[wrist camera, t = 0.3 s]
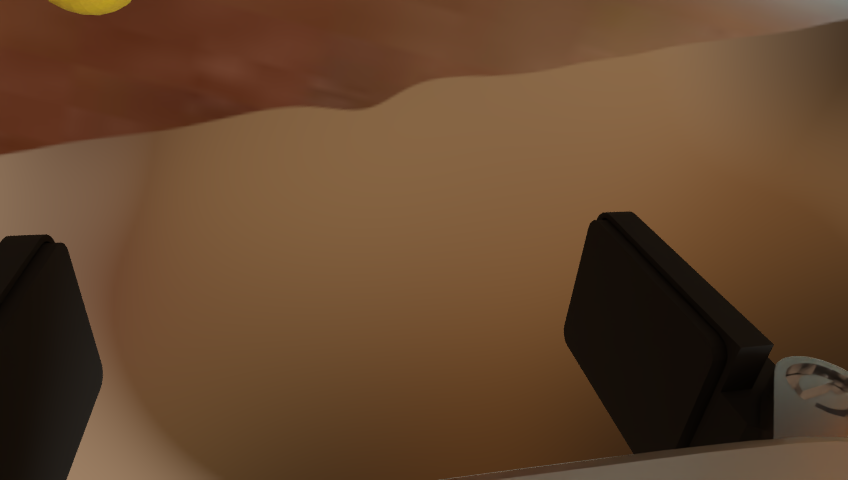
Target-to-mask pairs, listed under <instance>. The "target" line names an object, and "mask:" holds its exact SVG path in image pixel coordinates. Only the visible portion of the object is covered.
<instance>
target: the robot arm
mask: <svg viewBox="0 0 848 480" xmlns="http://www.w3.org/2000/svg"><path fill="white" fill-rule="evenodd" d="M564 337H565V341H566V344H567V346H568V347H569V349H570V351H571V352H572V354H573V356H574V357H575V359H576V360H577V362H578V364H579V365H580V367H581V369H582V370H583V372H584V374H585V375H586V377H587V378H588V380H589V382H590V383H591V385H592V387H593V388H594V390H595V391H596V393H597V395H598V396H599V398H600V400H601V401H602V403H603V405H604V406H605V408H606V410H607V411H608V413H609V414H610V416H611V417H612V419H613V421H614V423H615V424H616V426H617V428H618V429H619V431H620V432H621V434H622V436H623V437H624V439H625V441H626V442H627V444H628V445H629V447H630V449H631V450H632V452H633V454H632V455H624V456H617V457H609V458H601V459H594V460H586V461H578V462H570V463H563V464H555V465H547V466H539V467H532V468H524V469H516V470H509V471H502V472H494V473H486V474H480V475H472V476H465V477H457V478H449V479H442V480H848V372H847V371H846V370H844V369H842V368H840V367H838V366H835V365H833V364H830V363H828V362H826V361H822V360H818V359H815V358H811V357H800V356H793V357H787V358H784V359H782V360H781V361H779V362H778V363H777V364H776V365H775V364H774V363H773V362H772V361H771V360H770V359H769V358H768V355H769V353H770V351H771V349H772V347H773V345H774V344H773V343H772V342H771V341H769V340H768V339H767V338H766V337H765V336H764V335H763V334H762V333H761V332H760V331H759V330H758V329H757V328H756V327H755V326H754V325H753V324H751V323H750V322H749V321H748V320H747V319H746V318H745V317H744V316H743V315H742V314H741V313H740V312H739V311H737V310H736V309H735V308H734V307H733V306H732V305H731V304H730V303H729V302H728V301H727V300H726V299H725V298H723V296H722V295H720V294H719V293H718V292H717V291H716V290H715V289H714V288H713V287H712V286H711V285H710V284H709V283H708V282H707V281H706V280H705V279H703V278H702V277H701V276H700V275H699V274H698V273H697V272H696V271H695V270H694V269H693V268H692V267H691V266H690V265H688V263H687V262H685V261H684V260H683V259H682V258H681V257H680V256H679V255H678V254H677V253H676V252H675V251H674V250H673V249H672V248H671V247H670V246H668V245H667V244H666V243H665V242H664V241H663V240H662V239H661V238H660V237H659V236H658V235H657V234H656V233H655V232H654V231H652V230H651V229H650V228H649V227H648V226H647V225H646V224H645V223H644V222H643V221H642V220H641V219H640V218H639V217H637V215H635V214H634V213H632V212H606V213H602V214H600V215H599V217H598V218H597V220H594V221H592V222H591V223H590V225H589V228H588V232H587V236H586V240H585V244H584V248H583V253H582V256H581V261H580V264H579V268H578V273H577V276H576V281H575V285H574V289H573V293H572V297H571V301H570V305H569V309H568V313H567V317H566V321H565V325H564ZM102 378H103V370H102V364H101V360H100V357H99V354H98V350H97V347H96V344H95V340H94V337H93V333H92V330H91V326H90V323H89V320H88V316H87V313H86V310H85V306H84V303H83V300H82V296H81V293H80V289H79V286H78V283H77V279H76V276H75V272H74V269H73V266H72V262H71V259H70V256H69V252H68V249H67V247H66V246H65V244H63V243H55V242H54V240H53V239H52V237H51V236H49V235H47V234H46V235H21V236H6V237H5V238H4V239H3V240H2V241H1V242H0V480H66V479H67V476H68V474H69V471H70V468H71V466H72V463H73V460H74V458H75V455H76V452H77V449H78V447H79V444H80V442H81V439H82V436H83V434H84V431H85V428H86V426H87V423H88V420H89V418H90V415H91V412H92V409H93V407H94V404H95V401H96V399H97V396H98V393H99V391H100V388H101V385H102Z"/></svg>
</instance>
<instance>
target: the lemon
mask: <svg viewBox="0 0 848 480" xmlns="http://www.w3.org/2000/svg"><path fill="white" fill-rule="evenodd" d="M48 1H50V2H51V3H53V4H55V5H57V6H59V7H61V8H63V9H65V10H68V11H71V12H75V13H79V14H85V15H102V14H106V13H111V12H115V11H117V10H118V9H120V8H122V7H124V6H126V5H127V4H129V2H130V1H131V0H48Z"/></svg>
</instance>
